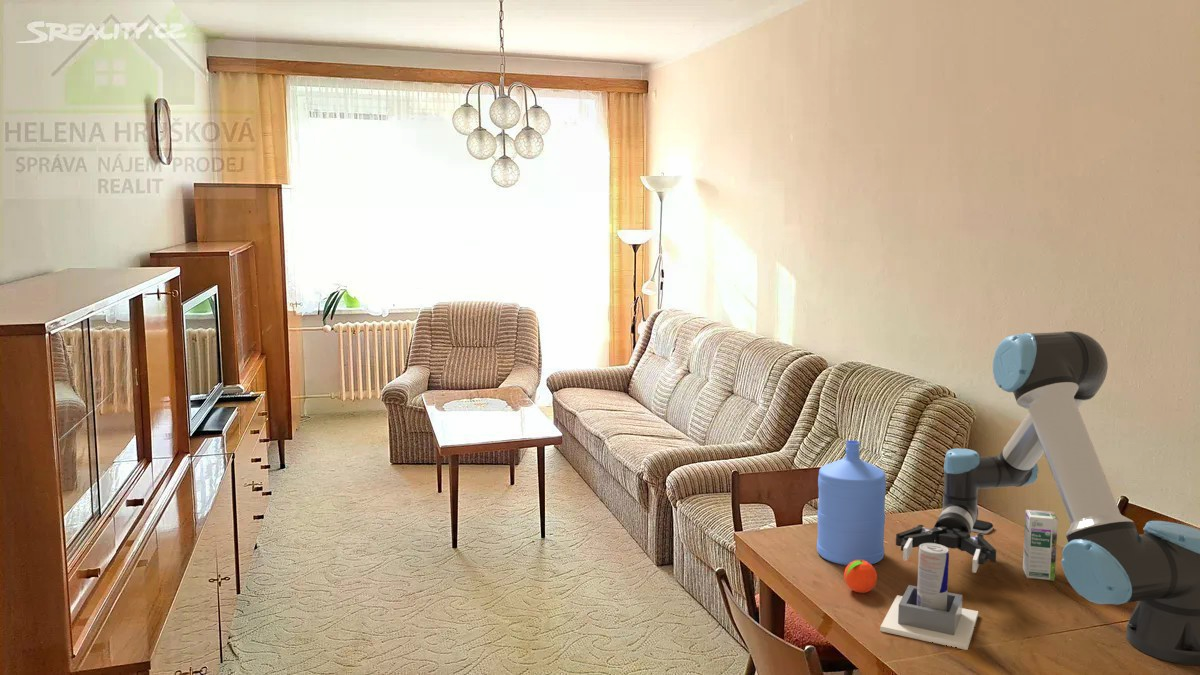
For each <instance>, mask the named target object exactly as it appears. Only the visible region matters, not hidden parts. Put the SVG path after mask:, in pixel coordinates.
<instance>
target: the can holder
mask: <svg viewBox="0 0 1200 675" xmlns="http://www.w3.org/2000/svg"><path fill="white" fill-rule="evenodd" d="M917 586H918V585H910V584H908V586H907V588H906V590H905V592H904V593H903V595H898V594H897V595H896V596H895V598H894V600H893V602H892V604H891V606H890V607H889V610H888V611H887V613H886V615H885V617H884V619H883V620H882V623H881V624H880V627H879V628H880V629H879V630H880V631H879V632H881V633H888V634H891V635H892V634H893V635H897V636H901V637H906V638H910V639H915V640H919V641H923V642H929V643H932V642H933V643H932V644H937V645H943V646H946V645H947V646H946V647H951V646H952V648H955V647H957V648H956V649H961V650H965V651H968V650H969V647H970V643H971V641H972V636H973V633H974V630H975V628H974V627H976V624H977V621H978V617H979V611H978V610H973V609H967V608H965V607H963V594H959V593H953V592H950V591H949V592H948V591H947V612H946V611H941V610H936V609H931V608H926V607H921V606H917Z"/></svg>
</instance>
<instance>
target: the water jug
mask: <svg viewBox="0 0 1200 675" xmlns="http://www.w3.org/2000/svg"><path fill="white" fill-rule="evenodd" d="M845 444H846V445H845V446H846V447H845V457H843V458H841V459H839V460H836V461H833V462H829V463H826V464H825V465H822V466H821V467H820V468H819V470H818V478H817V486H818V505H817V506H818V507H817V541H816V551H817V553H818V555H820V556H821V557H822V558H823V559H825V561H826V560H827V561H829V562H831V563H834V564H837V565H843V566H848V565H849V564H850V563H851V562H853V561H855V560H864V561H867V562H868V563H870V564H871V565H872V566H873V565H875V564H876V563H879V562H881V561H882V559H884V556H885V547H884V539H885V524H886V513H885V512H886V509H885V508H886V507H885V506H886V491H887V490H886V489H887V480H886V473H885V471H884V470H883V469H881V468H880V467H877V466H876V465H873V464H871V463H869V462H867V461H865V460H864V459H863V460H862V459H861V458H860V452H861V451H860V444H861V442H860V441H857V440H846V441H845Z"/></svg>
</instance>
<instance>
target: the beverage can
mask: <svg viewBox="0 0 1200 675" xmlns="http://www.w3.org/2000/svg"><path fill="white" fill-rule="evenodd" d="M918 548H919V549H918V565H917V585H916V586H917V606H921V607H926V608H931V609H936V610H941V611H946V612H947V592H948V586H949V585H948V584H949V566H950V565H949V564H950V563H949V560H950V553H949V549H950V548H947V547H945V546H943V545H940V544H935V543H924V544H921V545H920V546H919V547H918Z"/></svg>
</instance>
